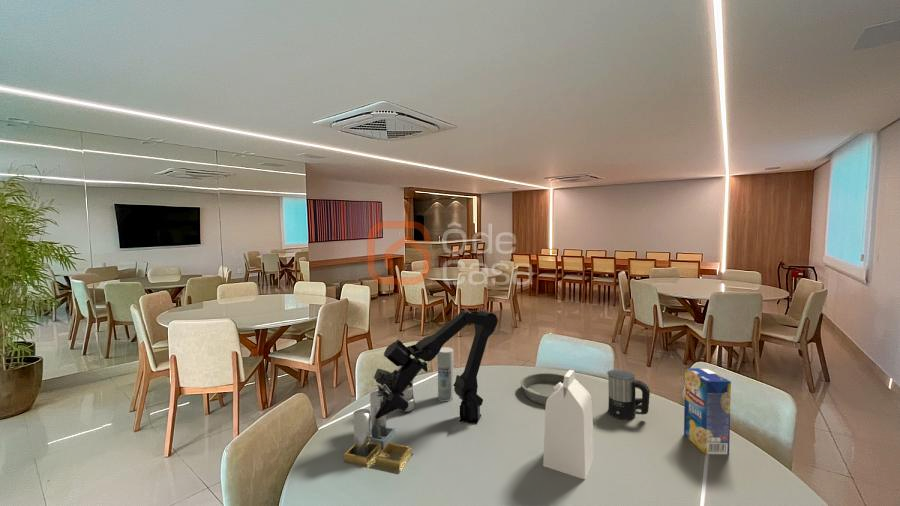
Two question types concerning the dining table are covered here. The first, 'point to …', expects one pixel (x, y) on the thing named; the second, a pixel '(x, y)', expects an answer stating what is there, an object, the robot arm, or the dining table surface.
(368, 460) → the gold holder tray
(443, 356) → the spray can
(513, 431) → the dining table surface
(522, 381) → the cake pan
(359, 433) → the billet twin
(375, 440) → the grey square dish
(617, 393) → the milk frother
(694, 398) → the blue cardboard box
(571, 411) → the milk
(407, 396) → the plastic bottle
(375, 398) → the billet
